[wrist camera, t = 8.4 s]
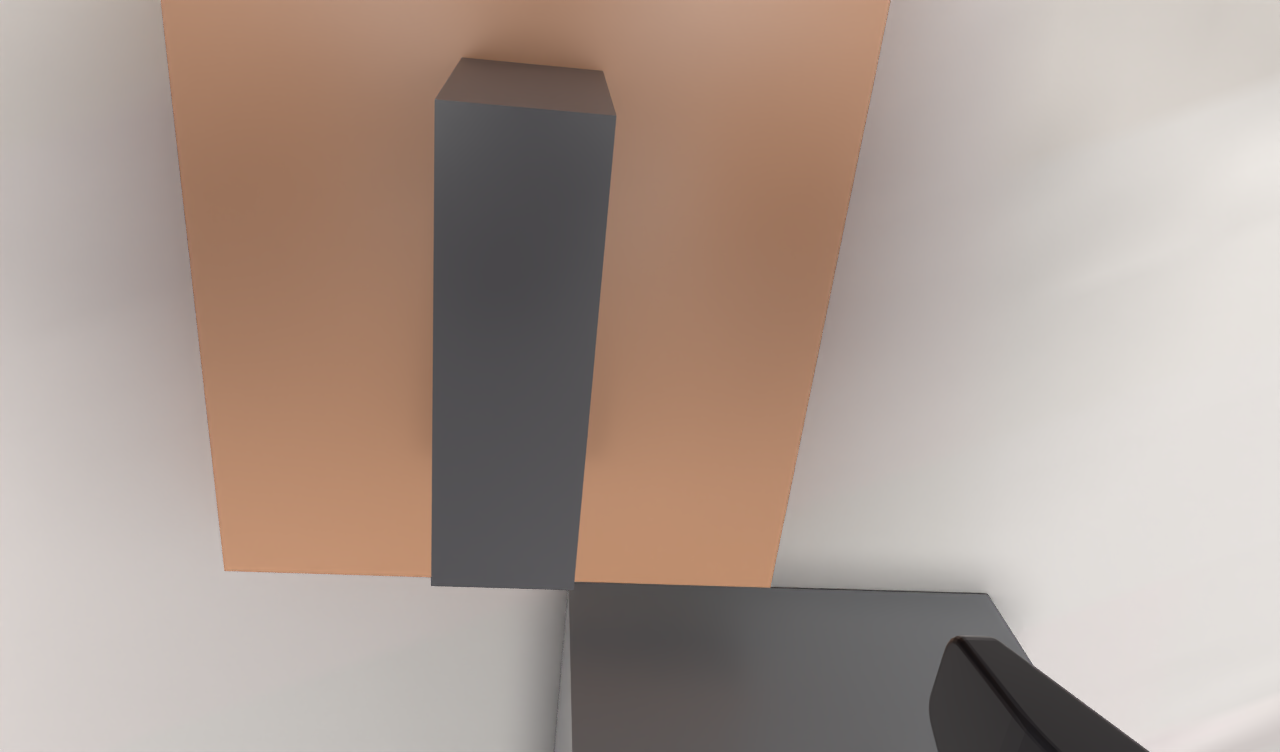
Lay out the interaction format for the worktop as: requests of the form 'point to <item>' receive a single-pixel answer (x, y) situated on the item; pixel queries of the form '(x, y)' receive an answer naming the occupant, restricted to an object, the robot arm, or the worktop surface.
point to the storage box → (757, 667)
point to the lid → (513, 276)
